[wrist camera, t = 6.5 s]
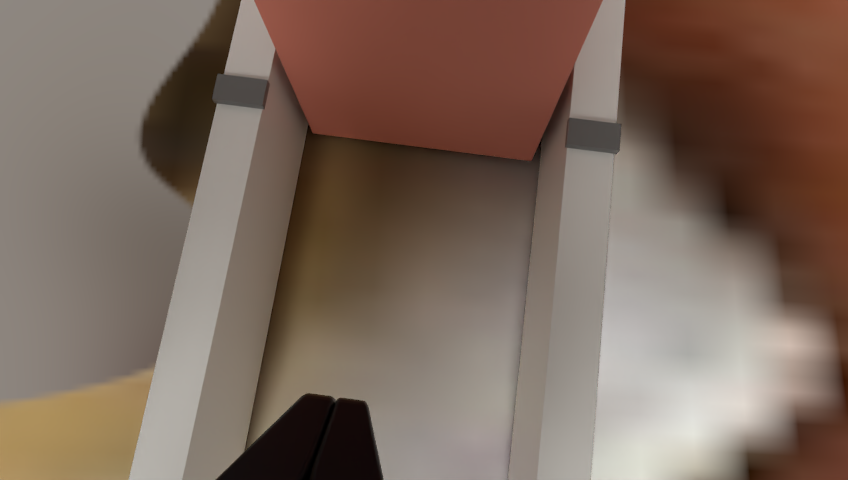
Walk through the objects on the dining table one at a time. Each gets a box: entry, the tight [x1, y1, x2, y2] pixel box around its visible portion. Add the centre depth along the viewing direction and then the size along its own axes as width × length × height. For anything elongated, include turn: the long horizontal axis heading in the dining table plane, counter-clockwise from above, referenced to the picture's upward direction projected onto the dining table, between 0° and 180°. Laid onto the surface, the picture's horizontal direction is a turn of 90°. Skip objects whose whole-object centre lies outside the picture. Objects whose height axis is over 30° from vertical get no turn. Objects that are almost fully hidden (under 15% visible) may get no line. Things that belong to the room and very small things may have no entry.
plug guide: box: [129, 0, 625, 480], centre depth 16 cm, size 19×9×4 cm, turn 172°
